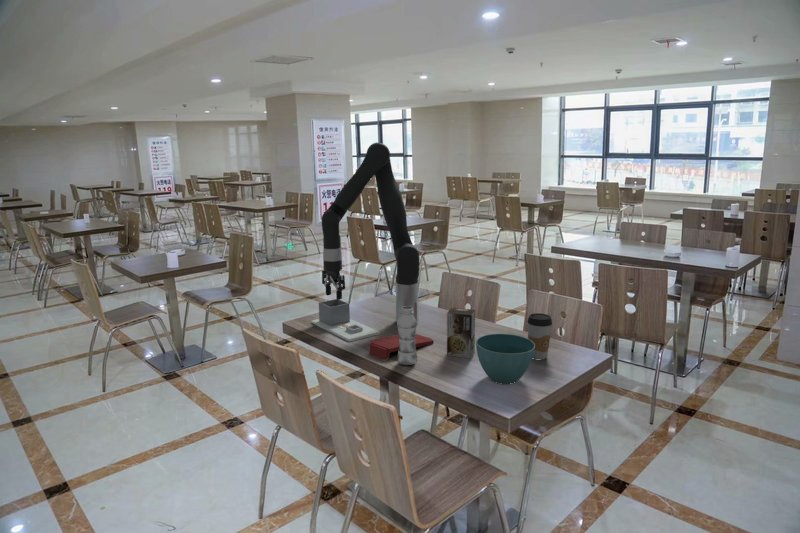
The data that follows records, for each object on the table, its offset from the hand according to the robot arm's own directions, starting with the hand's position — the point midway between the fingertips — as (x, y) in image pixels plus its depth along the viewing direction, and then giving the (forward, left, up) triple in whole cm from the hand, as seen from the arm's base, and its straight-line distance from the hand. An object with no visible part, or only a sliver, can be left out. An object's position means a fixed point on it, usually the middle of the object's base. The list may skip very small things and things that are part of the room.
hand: (333, 297), depth 228 cm
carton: (-31, +24, -12) cm, 41 cm away
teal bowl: (-67, +48, -12) cm, 83 cm away
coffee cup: (-80, +28, -12) cm, 85 cm away
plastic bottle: (-35, +39, -12) cm, 54 cm away
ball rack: (-5, +5, -12) cm, 14 cm away
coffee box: (-53, +28, -12) cm, 61 cm away
